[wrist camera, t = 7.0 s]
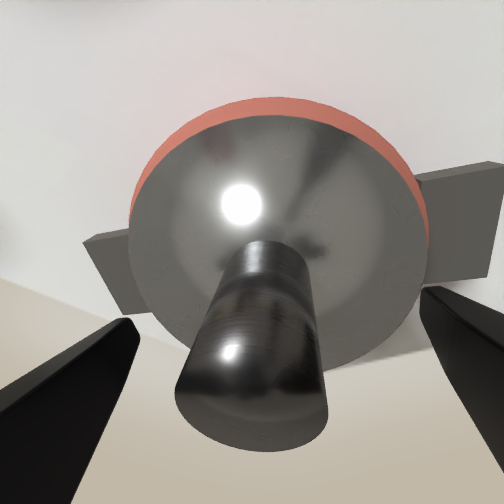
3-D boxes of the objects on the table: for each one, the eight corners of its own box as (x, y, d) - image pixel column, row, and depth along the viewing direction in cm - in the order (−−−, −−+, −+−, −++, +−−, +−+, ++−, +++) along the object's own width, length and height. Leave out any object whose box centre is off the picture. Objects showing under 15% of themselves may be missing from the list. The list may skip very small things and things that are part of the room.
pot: (447, 56, 11) (559, 10, 6) (427, 290, 16) (481, 356, 11) (104, 148, 14) (22, 161, 10) (178, 314, 19) (145, 372, 15)
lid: (423, 71, 7) (811, -73, 2) (408, 352, 12) (507, 542, 6) (94, 157, 9) (-154, 204, 4) (190, 363, 14) (131, 510, 9)
